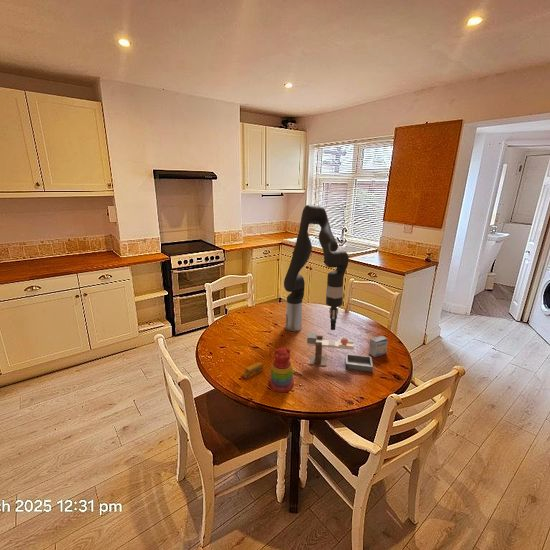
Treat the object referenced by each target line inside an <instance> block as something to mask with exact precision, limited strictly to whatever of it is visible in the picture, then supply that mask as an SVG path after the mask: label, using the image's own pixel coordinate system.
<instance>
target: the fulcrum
mask: <svg viewBox="0 0 550 550" xmlns="http://www.w3.org/2000/svg"><path fill="white" fill-rule="evenodd" d="M316 339H321V340H324V335H320V334H317V338H316ZM314 350H315V351H314V352H315V354H310V359H309V365H310V366H317V367H318V366H319V367H327V362H328V361H327V360H328V356H326V355H323V347H322V342H316V346H315V349H314Z"/></svg>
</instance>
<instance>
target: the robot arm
mask: <svg viewBox="0 0 550 550" xmlns="http://www.w3.org/2000/svg"><path fill="white" fill-rule="evenodd" d="M310 225H319V227H320V230H319V233H318V241H319V244H320V246H321V248H322V251H323V252H322V253H323V261H324V262H323V263H324V264H325V266H326V267H327V268H330V269H332V268H335V270H333V271H330V272H328V274H327V282H326V290H325V292H326V293H325V304H326V306H328V307H329V312H328V313H329V319H330V321H329V323H330V330H331V331H335V330H336V323H337V320H338V314H339V307H341V306H343V304H344V302H343V301H344V277H345V273H346V270H347V268H348V265H349V261H350V259H349V253H347V251H345V250H338V248H339V244H338V241H337V240H336V238H335V236H334V234H333V232H332V230H331V226H330V222H329V218H328V215H327V210H326V209H325V208H324V207H323V206H322V205H313V204H307V205H305V206H304V207H303V210H302V212H301V218H300V222H299V228H298V234H297V238H296V241H295V245H294V248H293V252H292V257H291V260H290V264H289V266H288V268H287V271H286V274H285V277H284V279H283V286H284V290H285V291H286V292H288V293H289V294H288V295H287V296H286V314H285V330H288V331H291V332H299V331H301V330H302V328H303V299H304V297H305V284H306V283H305V278H304V277H303V276H302V274H300V272H301V270H302V269H303V267H304V266H305V265H306V264H307V263H308V261H309V259H310V256H311V253H312V250H313V245H312V242H311V238H310V236H309V232H308V231H309V226H310ZM337 250H338V251H337Z"/></svg>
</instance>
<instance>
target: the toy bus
mask: <svg viewBox="0 0 550 550" xmlns="http://www.w3.org/2000/svg"><path fill="white" fill-rule="evenodd" d="M263 367H264V366H263V363H262V362H260V361H258V362H256V363H253V364H251V365H249V366H247V367H245V370H244V372H242V373H241V377H243V378H244V379H249V378H251V377H253V376H255V375H257V374H259V373H260V372H261V371H263Z"/></svg>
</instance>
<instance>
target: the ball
mask: <svg viewBox="0 0 550 550" xmlns="http://www.w3.org/2000/svg"><path fill="white" fill-rule="evenodd" d="M340 341H341V343H342V344H343V345H346V344H347V343H348V341H349V340H348V338H346V337H343V338H342V339H340Z"/></svg>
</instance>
